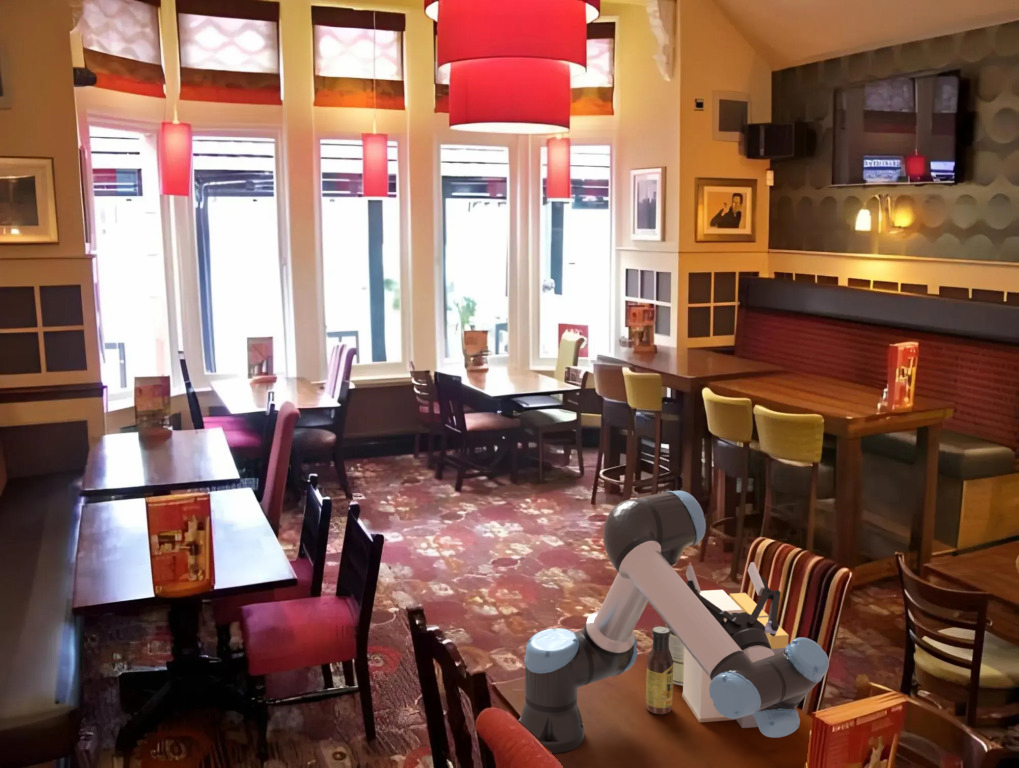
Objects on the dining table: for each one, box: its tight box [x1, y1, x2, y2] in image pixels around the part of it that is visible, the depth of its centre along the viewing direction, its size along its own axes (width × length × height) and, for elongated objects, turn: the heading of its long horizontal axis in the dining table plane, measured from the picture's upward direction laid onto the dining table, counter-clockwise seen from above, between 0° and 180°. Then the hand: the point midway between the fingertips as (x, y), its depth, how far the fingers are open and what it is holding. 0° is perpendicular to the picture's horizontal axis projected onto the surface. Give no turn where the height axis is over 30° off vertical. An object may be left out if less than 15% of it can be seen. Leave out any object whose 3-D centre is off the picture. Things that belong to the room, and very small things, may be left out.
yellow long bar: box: [729, 592, 789, 649], centre depth 214 cm, size 24×4×3 cm, turn 8°
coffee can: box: [664, 622, 685, 687], centre depth 234 cm, size 10×10×14 cm
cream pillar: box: [681, 589, 742, 723], centre depth 218 cm, size 12×9×27 cm
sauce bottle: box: [645, 626, 674, 715], centre depth 218 cm, size 6×6×20 cm
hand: (719, 567), depth 193 cm, fingers open, 13 cm apart
